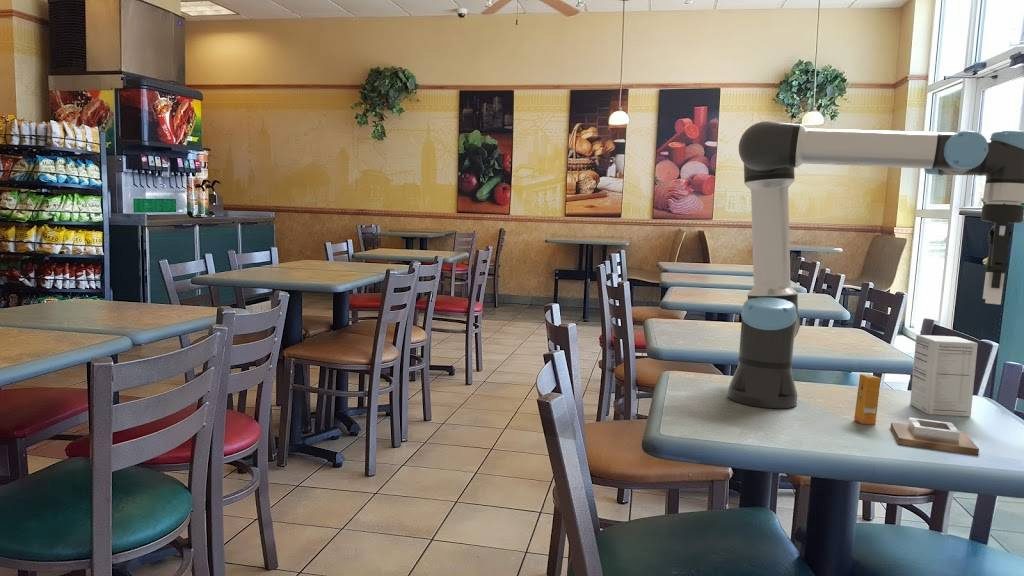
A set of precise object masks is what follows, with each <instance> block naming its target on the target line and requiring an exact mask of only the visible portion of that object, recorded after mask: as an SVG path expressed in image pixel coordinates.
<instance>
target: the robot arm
mask: <svg viewBox="0 0 1024 576" xmlns="http://www.w3.org/2000/svg"><path fill="white" fill-rule="evenodd" d="M738 155H739V158H740V160H741V161H742V162H743V180H744V185H745V186H746V187H747V188H748V189H749V190H750V197H751V198H750V199H751V200H750V201H751V235H752V241H751V243H752V271H753V274H752V275H753V278H752V279H753V287H752V288H751V289H750V290H749V292H748V293H747V300H745V301H744V303H743V304H742V310H741V314H740V316H741V325H740V337H739V338H740V339H739V349H738V362H737V367H736V369H735V371H734V374H733V375H732V378H731V381H730V383H729V385H728V389H727V391H728V392H727V397H728V398H729V399H730V400H732V401H734V402H735V403H740V404H744V405H747V406H751V407H752V406H753V407H758V408H765V409H767V408H768V409H790V408H794V407H796V406H797V405H798V393H797V392H798V391H797V387H796V385H795V380H794V376H793V372H792V368H793V367H792V366H793V365H792V364H793V356H794V353H793V352H794V344H795V343H794V342H795V338H796V336H797V335H798V333H799V330H800V327H801V318H800V314H799V300H798V291H796V290H795V289H794V288H793V287H792V285H791V284H792V283H791V249H790V248H791V246H790V245H791V243H790V211H789V208H790V207H789V206H790V204H789V188H790V186H791V185H792V184H793V183H794V182H796V181H795V179H796V178H795V168H799V167H800V166H801V165H803V164H806V165H807V164H810V165H831V166H834V165H836V166H858V167H877V168H879V167H881V168H885V167H886V168H902V169H903V168H904V169H905V168H906V169H923V170H924V173H926V174H927V175H935V176H979V177H981V176H984V177H985V184H984V190H983V196H982V197H983V198H982V201H983V202H984V203H985V204H983V205H982V208H981V216H980V221H982V222H987V223H994V224H993V226H992V227H991V229H990V230H988V235H987V236H988V237H987V238H988V243H987V244H988V245H987V248H988V253H987V262H986V263H985V266H986V267H985V276H984V277H985V278H984V284H983V292H982V293H983V294H982V299H983V300H985V301H984V303H985V304H991V305H1001V304H1002V296H1003V289H1004V282H1005V281H1004V280H1005V272H1006V270H1007V257H1008V249H1009V248H1010V240H1011V238H1012V231H1011V227H1010V226H1009V224H1021V223H1022V222H1023V220H1024V205H1022V204H1024V130H1016V129H1011V130H999V131H994V132H993V133H991V135H990V138H989V140H987V139H986V137H985V136H984V135H983V134H981V133H980V132H978V131H974V130H961V131H958V132H945V131H944V132H937V131H903V130H902V131H901V130H868V129H867V130H866V129H865V130H863V129H862V130H861V129H830V128H829V129H827V128H826V129H825V128H807V127H806V126H805V124H803V123H788V122H778V121H767V120H765V121H760V122H757V123H754V124H752V125H750V126H749V127H748V128H747V129H746V130H745V131H744V132H743V133H742V135H741V136H740V139H739V143H738Z"/></svg>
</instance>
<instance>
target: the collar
mask: <svg viewBox="0 0 1024 576" xmlns="http://www.w3.org/2000/svg"><path fill="white" fill-rule="evenodd" d="M908 428H909V429H910V431H911V433H912V435H913V436H914V437H918V438H925V439H932V440H940V441H947V442H954V443H959V436H960V432H959V430H958V429H957V427H956V426H955V425H954V424H953V423H952V422H950V421H949V422H948V421H939V420H932V419H926V418H925V419H924V418H917V417H909V418H908Z"/></svg>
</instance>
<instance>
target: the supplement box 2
mask: <svg viewBox="0 0 1024 576" xmlns="http://www.w3.org/2000/svg"><path fill="white" fill-rule="evenodd" d="M978 345H979V344H978V342H975V341H972V340H968V339H965V338H962V337H960V336H959V337H958V336H953V335H952V336H951V335H947V336H946V335H929V334H928V335H927V334H917V335H916V336H915V346H914V347H915V348H914V357H913V368H912V369H913V370H912V379H911V380H912V381H911V390H910V403H909V404H910V405H911V406H912V407H915V408H916V409H918V410H920V411H921V412H922V413H923V412H924V413H925V414H927V415H935V416H936V415H937V416H955V417H971V416H972V407H973V406H972V405H973V398H974V397H973V396H974V386H975V377H976V365H977V354H978Z"/></svg>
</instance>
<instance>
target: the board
mask: <svg viewBox="0 0 1024 576" xmlns="http://www.w3.org/2000/svg"><path fill="white" fill-rule="evenodd" d="M908 424H909V423H908ZM908 424H907V423H899V422H894V421H892V422H890V430H891V432H892V434H893V436H894V438H895V440H896V442H897V444H898V445H900V446H901V445H903V446H910V447H917V448H924V449H931V450H937V451H938V450H939V451H944V450H945V452H952V453H961V454H967V455H973V456H979V451H980V448H979V447H978V446H977V444H976V443H975V442H974V441H973V440H972V439H971V437H970V436H969V435H968V433H966V432H965V431H961V430H960V431H959V430H958V431H959V432H960V436H959V443H954V442H947V441H940V440H932V439H925V438H918V437H914V436H913V435H912V433H911V431H910V429H909V428H908Z"/></svg>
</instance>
